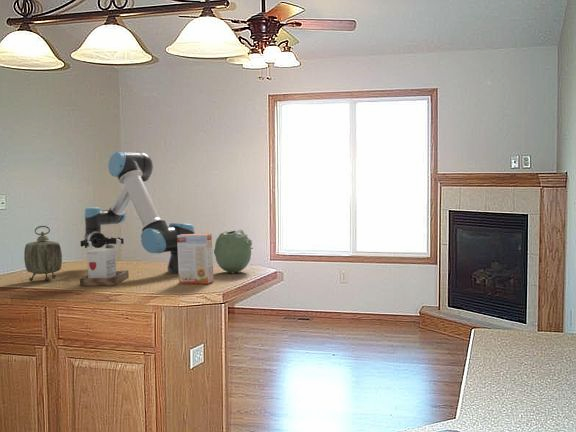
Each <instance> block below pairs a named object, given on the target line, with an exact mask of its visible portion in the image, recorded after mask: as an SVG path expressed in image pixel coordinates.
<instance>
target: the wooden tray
mask: <svg viewBox="0 0 576 432" xmlns="http://www.w3.org/2000/svg"><path fill="white" fill-rule="evenodd" d="M105 248H114V249H115V250H116V244H108V245H105ZM115 265H117V263H116V259H115ZM129 275H130V274H129V270H116V276H114V277H113V278H88V274H87V275H85V276H82V277H81V278H79V286H80V287H89V286H91V287H93V286H94V287H95V286H99V287H100V286H116V285H118V284H119V283H121V282H123V281H124V280H126V279H128V278H129V277H130V276H129Z"/></svg>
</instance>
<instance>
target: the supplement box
mask: <svg viewBox="0 0 576 432" xmlns="http://www.w3.org/2000/svg"><path fill="white" fill-rule="evenodd" d="M86 253H87V254H86V256H87V258H86V259H87V275H88V278H113V277H114V276H116V271H117V266H116V265H117V264H116V265H115V260H116V248H115V249H114V248H106V247H105V248H103V247H101V248H93V249H88V250H86Z"/></svg>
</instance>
